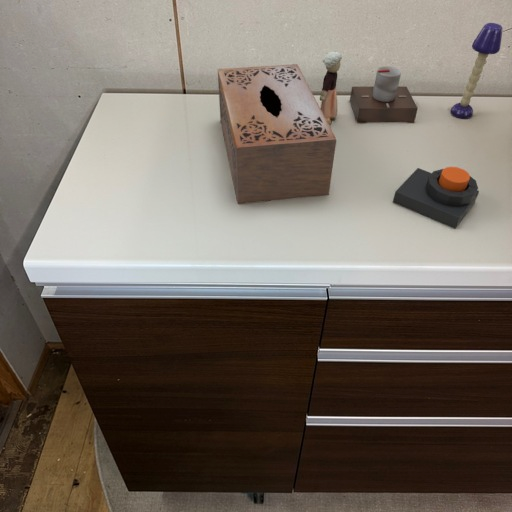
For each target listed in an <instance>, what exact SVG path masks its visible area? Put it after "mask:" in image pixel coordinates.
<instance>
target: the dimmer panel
mask: <svg viewBox="0 0 512 512" xmlns="http://www.w3.org/2000/svg"><path fill="white" fill-rule="evenodd" d="M373 90H374V86H351V91H350V97H349V102H350V105H351V108H352V111H353V114H354V115H353V116H354V118H355V120H356V123H357V124H358V123H359V124H361V123H363V124H366V123H407V124H409V123H411V124H412V123H415V120H416V117H417V114H418V110H419V107H418V105H417V104H416V102H415V100H414V98H413V96H412V94H411V91H409V89H408V87H407V86H398V89H397V94H396V98H395V100H393V101H390V102H382V101H378V100H376V99H374V98H373Z"/></svg>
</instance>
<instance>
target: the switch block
mask: <svg viewBox="0 0 512 512" xmlns="http://www.w3.org/2000/svg"><path fill="white" fill-rule="evenodd" d="M443 169H444V168H441V169H437V170H434V171H432V172H430V171H427V170H424V169H422V168H419V167H417V168H416V169H415V170H414V172H413V173H412V174H410V175H409V177H408V178H407V179H406V180H405V181H404V182H403V183H402V184H401V185H400V186H399V187H398V188H397V189H396V190H395V193H394V196H393V199H392V203H393V204H396V205H398V206H401V207H402V208H404V209H407V210H410V211H412V212H414V213H416V214H419V215H421V216H424V217H426V218H428V219H431V220H433V221H435V222H438V223H440V224H442V225H445V226H447V227H450V228H452V229H454V230H456V229H457V227H458V226H459V224H460V223H461V222H462V221H463V219H464V217H465V216H466V215H467V214H468V212H469V211H470V210H471V208H472V207H473V205H475V202H476V200H477V198H478V196H479V193H480V190H478V189H479V186H478V183H477V180H476V179H474V178H473V177H472V176H471V175H470V180H469V182H468V185H467V187H466V189H465V190H463V191H461V192H455V191H449V190H447V189H444V188H442V187H441V186H440V184H439V178H440V176H441V173H442V170H443Z"/></svg>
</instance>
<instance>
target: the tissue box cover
mask: <svg viewBox="0 0 512 512" xmlns="http://www.w3.org/2000/svg"><path fill="white" fill-rule="evenodd" d="M217 83H218V101H219V102H218V103H219V119H220V125H222V126H221V129H222V134H223V135H222V136H223V139H224V145H225V149H226V155H227V160H228V164H229V169H230V173H231V178H232V183H233V188H234V192H235V197H236V198H235V199H236V202H237V205H242V204H251V203H252V204H254V203H263V202H271V201H280V200H289V199H290V200H291V199H300V198H310V197H320V196H329V195H330V188H331V181H332V175H333V166H334V160H335V153H336V148H337V147H336V146H337V138H336V136H335V133H334V131H333V130H332V128H331V126H330V125H329V124H328V122H327V120H326V118H325V116H324V114H323V113H322V111H321V109H320V108H321V106H320V104H319V102H318V101H317V99H316V97H315V95H314V93H313V91H312V90H311V88H310V86H309V83H308V82H307V80H306V78H305V76H304V74H303V72H302V71H301V68H300V66H299V65H298V63H295V64H294V63H293V64H280V65H277V64H276V65H263V66H262V65H261V66H245V67H232V68H231V67H230V68H218V69H217Z"/></svg>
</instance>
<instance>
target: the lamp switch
mask: <svg viewBox="0 0 512 512" xmlns="http://www.w3.org/2000/svg"><path fill="white" fill-rule="evenodd" d="M442 169H443V170H442V173H441V176H440V178H439V184H440V186H441V187H442V188H444V189H447V190H449V191H455V192H461V191H463V190H465V189H466V187H467V185H468V182H469V180H470V176H471V174H470V173H469V172H468V171H467V170H465V169H463V168H461V167H457V166H447V167H444V168H442Z"/></svg>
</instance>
